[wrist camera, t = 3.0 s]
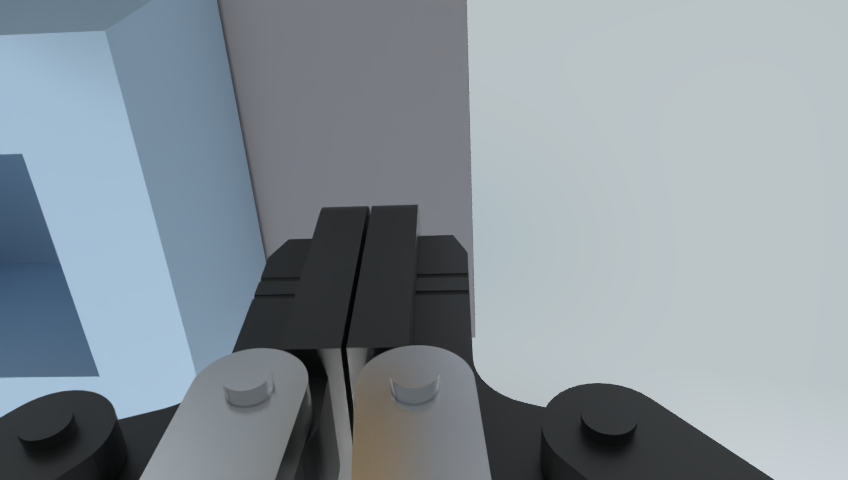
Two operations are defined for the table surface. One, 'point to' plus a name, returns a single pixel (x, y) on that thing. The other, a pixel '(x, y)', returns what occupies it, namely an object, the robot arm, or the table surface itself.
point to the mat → (353, 111)
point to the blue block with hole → (120, 201)
